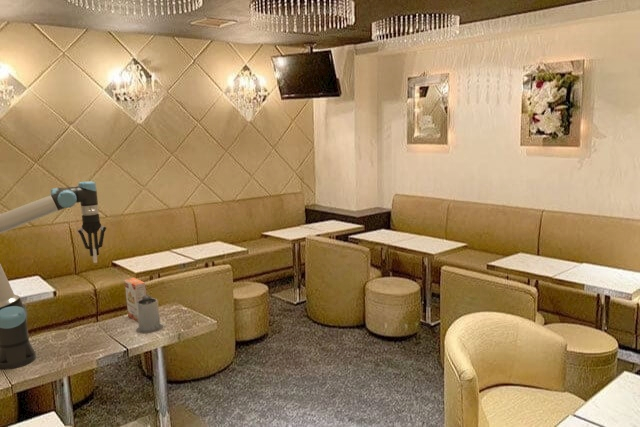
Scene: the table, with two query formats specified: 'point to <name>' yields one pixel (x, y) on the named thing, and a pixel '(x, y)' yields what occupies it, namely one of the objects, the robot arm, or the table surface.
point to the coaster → (149, 332)
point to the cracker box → (134, 295)
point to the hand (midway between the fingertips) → (95, 262)
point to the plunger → (146, 298)
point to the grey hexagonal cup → (148, 315)
